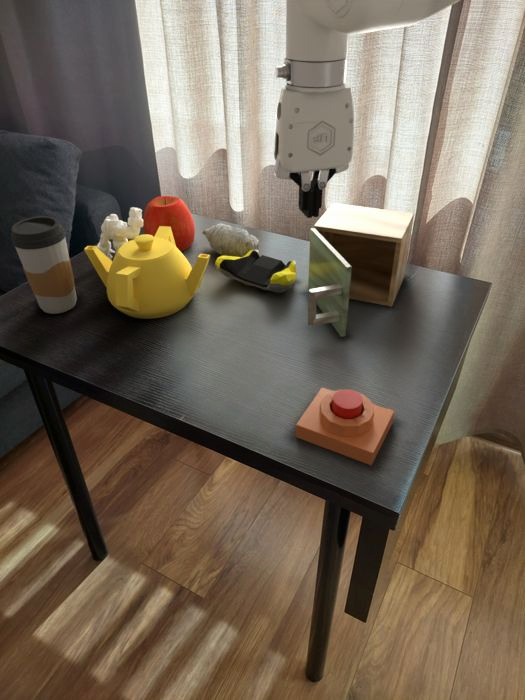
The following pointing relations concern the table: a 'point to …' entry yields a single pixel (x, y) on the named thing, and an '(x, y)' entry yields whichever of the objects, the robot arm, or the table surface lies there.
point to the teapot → (149, 275)
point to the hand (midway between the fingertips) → (309, 213)
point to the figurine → (119, 231)
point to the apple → (170, 220)
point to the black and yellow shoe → (259, 271)
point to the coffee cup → (46, 262)
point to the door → (327, 284)
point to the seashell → (231, 240)
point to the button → (347, 404)
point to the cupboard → (369, 248)
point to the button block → (345, 427)
